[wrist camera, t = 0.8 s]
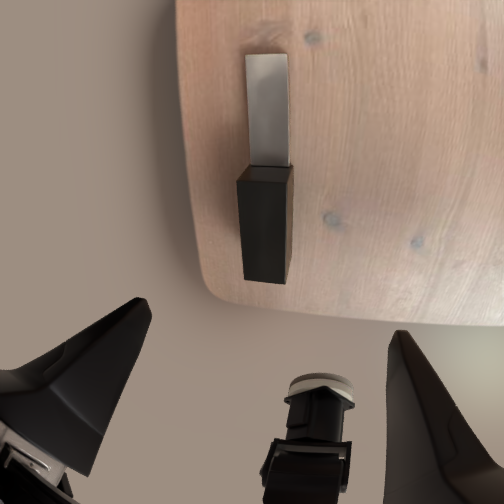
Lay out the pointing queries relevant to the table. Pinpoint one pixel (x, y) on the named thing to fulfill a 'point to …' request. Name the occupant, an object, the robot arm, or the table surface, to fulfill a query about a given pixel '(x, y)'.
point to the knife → (267, 172)
